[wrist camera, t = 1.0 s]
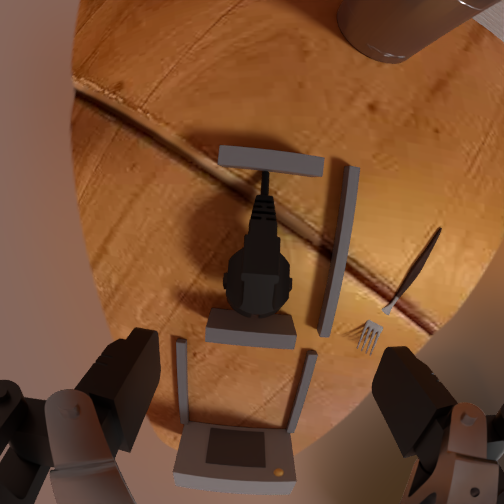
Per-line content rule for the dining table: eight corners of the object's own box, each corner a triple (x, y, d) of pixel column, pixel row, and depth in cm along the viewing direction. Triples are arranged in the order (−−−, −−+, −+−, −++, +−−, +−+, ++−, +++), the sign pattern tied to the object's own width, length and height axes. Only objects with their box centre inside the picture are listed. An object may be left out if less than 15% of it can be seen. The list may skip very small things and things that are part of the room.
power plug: (298, 170, 24) (298, 311, 19) (285, 212, 31) (282, 324, 26) (233, 165, 24) (217, 305, 19) (234, 208, 31) (223, 319, 26)
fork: (445, 234, 26) (455, 237, 24) (365, 347, 29) (371, 357, 28) (432, 220, 26) (442, 223, 24) (350, 339, 29) (355, 348, 27)
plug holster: (224, 150, 24) (219, 145, 20) (354, 168, 24) (371, 166, 20) (210, 320, 28) (205, 341, 24) (325, 330, 28) (335, 350, 25)
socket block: (177, 338, 29) (154, 392, 20) (316, 351, 29) (335, 407, 20) (183, 436, 33) (171, 484, 24) (287, 445, 33) (293, 494, 25)
